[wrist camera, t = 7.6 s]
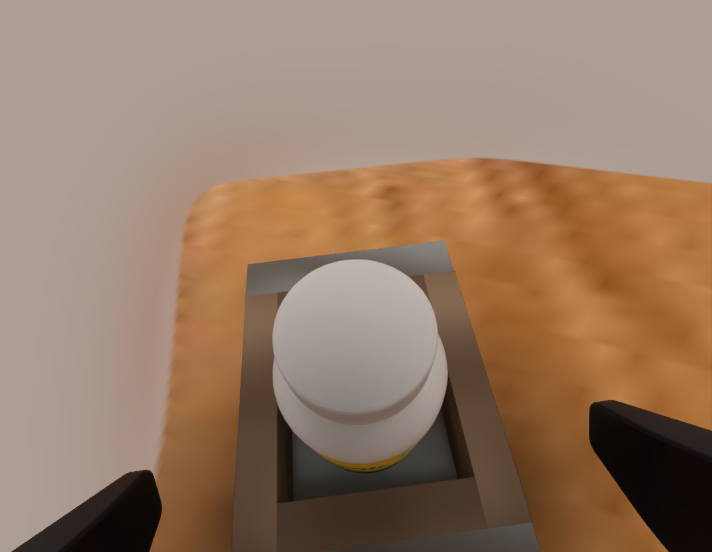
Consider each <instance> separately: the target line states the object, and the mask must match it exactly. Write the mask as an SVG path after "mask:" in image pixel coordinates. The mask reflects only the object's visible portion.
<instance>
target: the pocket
mask: <svg viewBox="0 0 712 552" xmlns="http://www.w3.org/2000/svg"><path fill="white" fill-rule="evenodd" d="M352 259H361V260H371V261H376V262H380V263H384V264H386V265H389V266H391V267H393V268H395V269H397V270H399V271H401V272H402V273H404V274H405V275H407V276H408V277H409V278H411V279H412V280H413V281H414V282H415V283H416V284H417V285H418V286H419V287H420V288H421V289H422V291H423V292H424V293H425V295H426V296H427V298H428V300H429V302H430V304H431V306H432V308H433V311H434V314H435V318H436V321H437V327H438V334H439V337H440V339H441V341H442V344H443V347H444V350H445V354H446V360H447V369H448V378H447V386H446V392H445V396H444V399H443V403H442V405H441V408H440V411H439V413H438V415H437V417H436V419H435V421H434V423H433V424H432V426H431V428H430V429H429V430H428V432H427V433H426V434H425V435H424V436H423V438H422V439H421V440H420V441H419V442H418V443H417V445H416V446H415V447H414V448H413V449H412V450H411V452H410V453H409V454H408V455H407V456H406V457H405V458H403V459H402V460H401V461H400V462H398V463H397V464H396V465H394V466H392V467H390V468H388V469H386V470H383V471H380V472H375V473H355V472H350V471H346V470H344V469H342V468H339V467H337V466H336V465H334V464H332V463H331V462H329V461H328V460H326V459H325V458H323V457H322V456H321V455H319V454H318V453H317V452H315V451H314V450H313V449H311V448H310V447H308V446H307V445H306V444H305V443H304V442H303V441H302V440H301V439H300V438H299V437H298V436H297V435H296V434H294V432H293V430H292V429H291V428H290V426H289V425H288V424H287V422H286V421H285V419H284V417H283V415H282V413H281V411H280V409H279V407H278V404H277V401H276V397H275V393H274V388H273V363H274V352H273V342H272V334H273V326H274V321H275V318H276V315H277V312H278V309H279V307H280V305H281V303H282V301H283V299H284V298H285V297H286V295H287V294H288V292H289V291H290V290H291V289H292V287H293V286H294V285H295V284H296V283H297V282H298V281H300V280H301V279H302V278H303V277H305V276H306V275H307V274H309V273H310V272H312V271H314V270H316V269H318V268H320V267H322V266H324V265H327V264H330V263H333V262H337V261H343V260H352ZM532 523H533V522H532V518H531V515H530V512H529V509H528V506H527V502H526V499H525V496H524V493H523V490H522V486H521V483H520V480H519V477H518V474H517V470H516V467H515V464H514V461H513V457H512V454H511V451H510V448H509V445H508V441H507V438H506V435H505V432H504V429H503V425H502V422H501V419H500V416H499V413H498V409H497V406H496V403H495V400H494V396H493V393H492V390H491V387H490V384H489V380H488V377H487V374H486V371H485V368H484V364H483V361H482V358H481V355H480V352H479V348H478V345H477V342H476V339H475V335H474V332H473V329H472V326H471V323H470V319H469V316H468V313H467V310H466V307H465V303H464V300H463V297H462V294H461V291H460V287H459V284H458V281H457V278H456V274H455V271H454V270H453V267H452V264H451V261H450V257H449V254H448V251H447V248H446V245H445V241H438V242H430V243H422V244H414V245H405V246H397V247H389V248H380V249H372V250H364V251H356V252H347V253H339V254H331V255H322V256H314V257H306V258H297V259H289V260H281V261H273V262H264V263H256V264H248V270H247V288H246V301H245V319H244V337H243V354H242V372H241V389H240V407H239V425H238V442H237V460H236V477H235V495H234V513H233V530H232V548H231V552H541V551H540V547H539V544H538V541H537V538H536V535H535V531H534V528H533V525H532Z"/></svg>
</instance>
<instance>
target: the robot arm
mask: <svg viewBox="0 0 712 552" xmlns="http://www.w3.org/2000/svg"><path fill="white" fill-rule="evenodd" d="M589 439H590V443H591V446H592V448H593V450H594V452H595V453H596V454H597V456H598V457H599V459H600V460H601V462H602V463H603V464H604V466H605V467H606V469H607V470H608V471H609V473H610V474H611V476H612V477H613V478H614V480H615V481H616V483H617V484H618V486H619V487H620V488H621V490H622V491H623V493H624V494H625V495H626V497H627V498H628V500H629V501H630V502H631V504H632V505H633V507H634V508H635V510H636V511H637V512H638V514H639V515H640V516H641V518H642V519H643V520H644V522H645V523H646V524H647V526H648V527H649V528H650V530H651V531H652V532H653V533H654V535H655V536H656V537H657V538H658V540H659V541H660V542H661V543H662V544H663V546H664V547H665V548H666V549H667V550H668V552H712V431H711V430H707V429H704V428H701V427H698V426H695V425H692V424H688V423H685V422H682V421H679V420H676V419H672V418H669V417H666V416H663V415H660V414H656V413H653V412H650V411H647V410H644V409H641V408H637V407H634V406H631V405H628V404H625V403H621V402H618V401H615V400H606V401H600V402H594V403H593V404H591V406H590V410H589ZM161 513H162V504H161V500H160V496H159V493H158V489H157V486H156V482H155V479H154V476H153V473H152V472H151V471H149V470H141V471H134V472H129V473H127V474H125V475H123V476H122V477H120V478H119V479H117V480H116V481H115V482H113V483H111V484H110V485H109V486H107V487H106V488H104V489H103V490H101V491H100V492H98V493H97V494H95V495H94V496H92V497H91V498H89V499H88V500H87V501H85V502H84V503H82V504H81V505H79V506H78V507H76V508H75V509H73V510H72V511H70V512H69V513H68V514H66V515H65V516H63V517H62V518H60V519H59V520H57V521H56V522H54V523H53V524H51V525H50V526H48V527H47V528H45V529H44V530H43V531H41V532H40V533H38V534H37V535H35V536H34V537H32V538H31V539H29V540H28V541H27V542H25V543H24V544H22V545H21V546H19V547H18V548H16V549H15V550H13V551H12V552H149V551H150V548H151V545H152V542H153V539H154V536H155V533H156V530H157V527H158V524H159V521H160V518H161Z"/></svg>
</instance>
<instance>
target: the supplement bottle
mask: <svg viewBox="0 0 712 552" xmlns="http://www.w3.org/2000/svg"><path fill="white" fill-rule="evenodd" d="M272 342H273V352H274V363H273V388H274V393H275V397H276V401H277V404H278V407H279V409H280V411H281V413H282V415H283V417H284V419H285V421H286V422H287V424H288V425H289V426H290V428H291V429H292V430H293V432H294V434H296V435H297V436H298V437H299V438H300V439H301V440H302V441H303V442H304V443H305V444H306V445H307V446H308V447H310V448H311V449H313V450H314V451H315V452H317V453H318V454H319V455H321V456H322V457H323V458H325V459H326V460H328V461H329V462H331V463H332V464H334V465H336V466H337V467H339V468H342V469H344V470H346V471H350V472H355V473H375V472H380V471H383V470H386V469H388V468H390V467H392V466H394V465H396V464H397V463H398V462H400V461H401V460H402V459H403V458H405V457H406V456H407V455H408V454H409V453H410V452H411V450H412V449H413V448H414V447H415V446H416V445H417V443H418V442H419V441H420V440H421V439H422V438H423V436H424V435H425V434H426V433H427V432H428V430H429V429H430V428H431V426H432V424H433V423H434V421H435V419H436V417H437V415H438V413H439V411H440V408H441V405H442V403H443V399H444V396H445V392H446V386H447V378H448V369H447V360H446V354H445V350H444V347H443V344H442V341H441V339H440V337H439V334H438V327H437V321H436V318H435V314H434V311H433V308H432V306H431V304H430V302H429V300H428V298H427V296H426V295H425V293H424V292H423V291H422V289H421V288H420V287H419V286H418V285H417V284H416V283H415V282H414V281H413V280H412V279H411V278H409V277H408V276H407V275H405V274H404V273H402V272H401V271H399V270H397V269H395V268H393V267H391V266H389V265H386V264H384V263H380V262H376V261H371V260H361V259H352V260H343V261H337V262H333V263H330V264H327V265H324V266H322V267H320V268H318V269H316V270H314V271H312V272H310V273H309V274H307V275H306V276H305V277H303V278H302V279H301V280H300V281H298V282H297V283H296V284H295V285H294V286H293V287H292V289H291V290H290V291H289V292H288V294H287V295H286V297H285V298H284V299H283V301H282V303H281V305H280V307H279V309H278V312H277V315H276V318H275V321H274V326H273V334H272Z"/></svg>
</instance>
